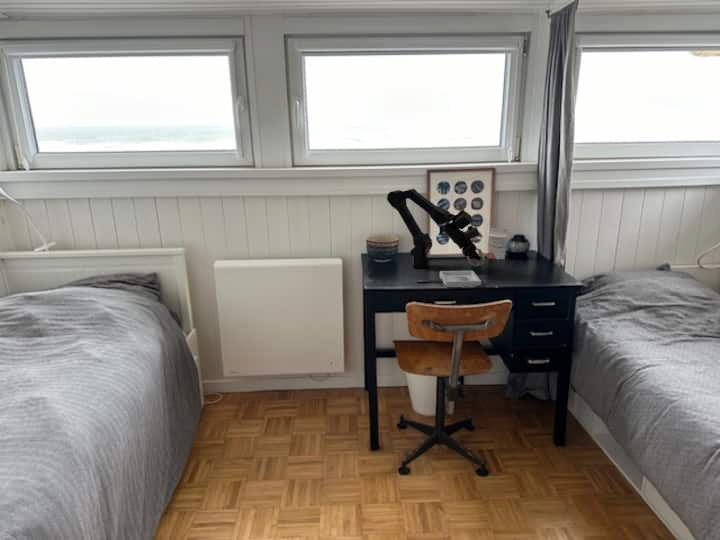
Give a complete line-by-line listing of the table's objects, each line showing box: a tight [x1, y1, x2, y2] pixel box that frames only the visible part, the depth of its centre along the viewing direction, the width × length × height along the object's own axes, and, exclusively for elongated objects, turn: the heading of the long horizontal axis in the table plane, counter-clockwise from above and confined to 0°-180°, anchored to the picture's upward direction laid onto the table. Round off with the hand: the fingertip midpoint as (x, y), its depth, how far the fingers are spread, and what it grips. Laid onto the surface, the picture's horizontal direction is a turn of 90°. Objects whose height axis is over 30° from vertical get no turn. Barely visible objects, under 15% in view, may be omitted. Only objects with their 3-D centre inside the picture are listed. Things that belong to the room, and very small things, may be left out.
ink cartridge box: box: [486, 227, 508, 261], centre depth 241 cm, size 9×5×15 cm, turn 71°
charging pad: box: [415, 270, 482, 286], centre depth 209 cm, size 26×15×3 cm, turn 91°
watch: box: [466, 247, 486, 275], centre depth 221 cm, size 6×8×11 cm
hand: (479, 258), depth 220 cm, fingers closed on watch, 5 cm apart
